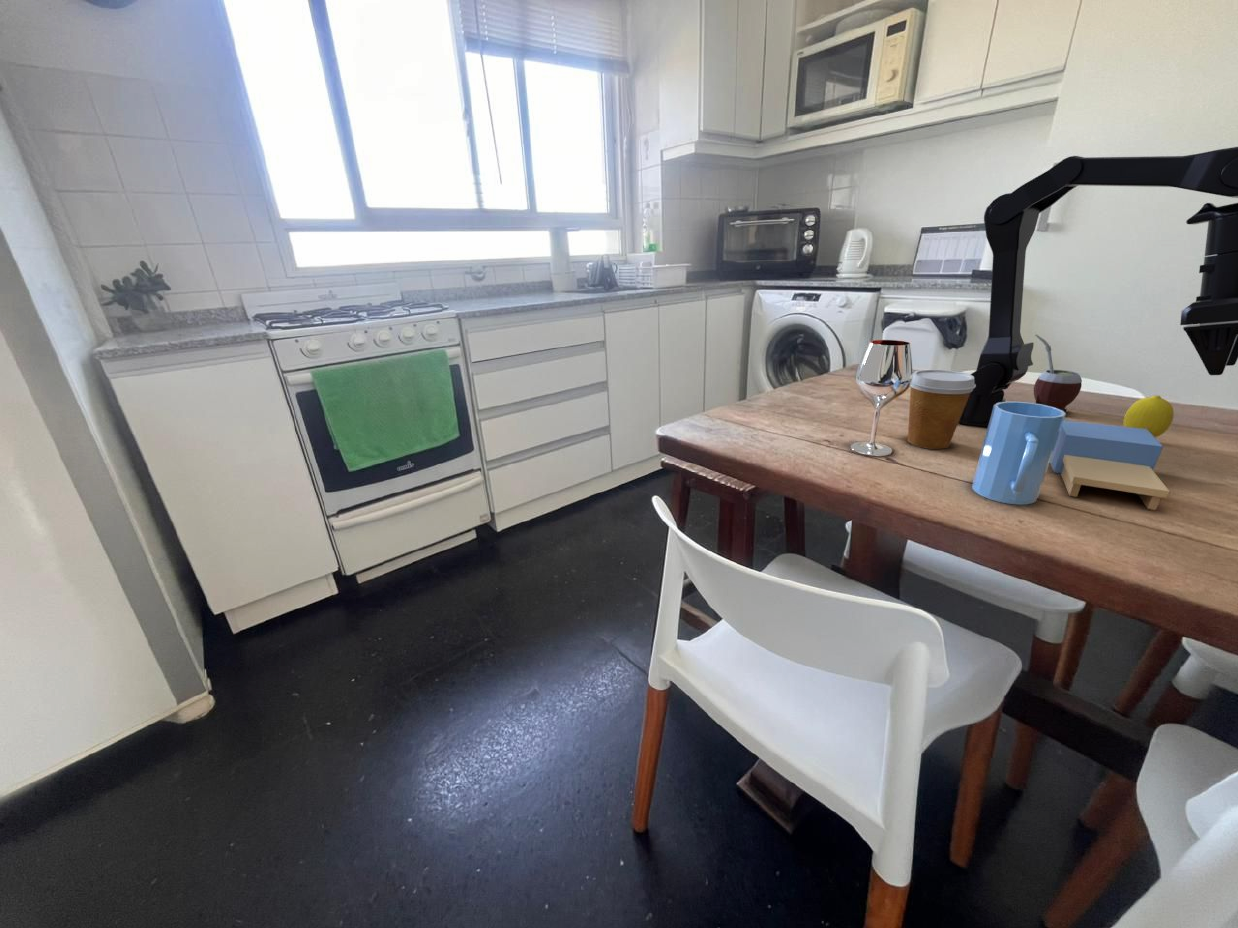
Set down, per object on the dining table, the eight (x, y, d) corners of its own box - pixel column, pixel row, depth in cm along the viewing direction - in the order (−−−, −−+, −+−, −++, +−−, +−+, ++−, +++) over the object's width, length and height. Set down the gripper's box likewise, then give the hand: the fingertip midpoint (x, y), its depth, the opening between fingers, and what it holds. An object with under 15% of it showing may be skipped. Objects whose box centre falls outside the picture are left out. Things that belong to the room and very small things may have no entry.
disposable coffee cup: (955, 437, 88) (972, 370, 84) (964, 455, 80) (983, 383, 76) (895, 431, 92) (908, 367, 87) (898, 448, 84) (912, 379, 79)
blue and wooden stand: (1061, 495, 67) (1076, 454, 64) (1047, 454, 80) (1058, 419, 77) (1165, 513, 61) (1185, 469, 59) (1131, 466, 74) (1147, 429, 72)
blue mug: (969, 478, 72) (990, 399, 68) (1030, 487, 69) (1057, 404, 65) (977, 507, 64) (1002, 420, 60) (1047, 519, 61) (1079, 427, 56)
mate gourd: (1081, 416, 96) (1108, 338, 91) (1040, 417, 97) (1064, 339, 91) (1051, 405, 103) (1074, 332, 98) (1013, 406, 104) (1034, 334, 98)
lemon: (1171, 447, 81) (1191, 400, 77) (1131, 446, 82) (1150, 399, 79) (1145, 436, 86) (1163, 391, 82) (1108, 435, 87) (1124, 390, 84)
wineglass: (895, 461, 79) (917, 348, 72) (840, 453, 83) (857, 345, 76) (899, 445, 85) (920, 340, 78) (848, 438, 89) (864, 337, 82)
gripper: (1339, 235, 54) (1315, 378, 57) (1350, 234, 63) (1329, 357, 67) (1186, 259, 63) (1173, 381, 66) (1215, 255, 72) (1203, 362, 76)
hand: (1222, 370), depth 69 cm, fingers open, 9 cm apart
